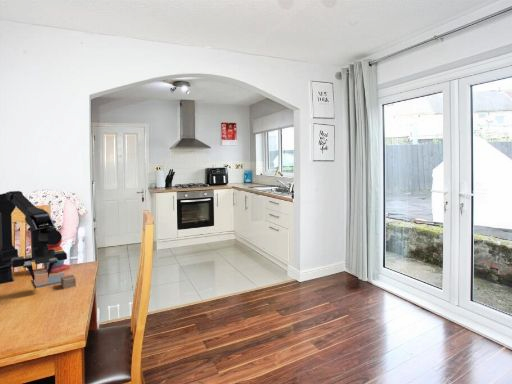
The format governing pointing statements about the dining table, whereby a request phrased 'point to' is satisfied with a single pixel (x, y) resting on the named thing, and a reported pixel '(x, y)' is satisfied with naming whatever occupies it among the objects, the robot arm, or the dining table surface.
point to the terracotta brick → (40, 277)
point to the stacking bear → (60, 264)
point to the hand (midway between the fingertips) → (40, 278)
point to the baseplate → (52, 280)
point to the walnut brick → (68, 281)
